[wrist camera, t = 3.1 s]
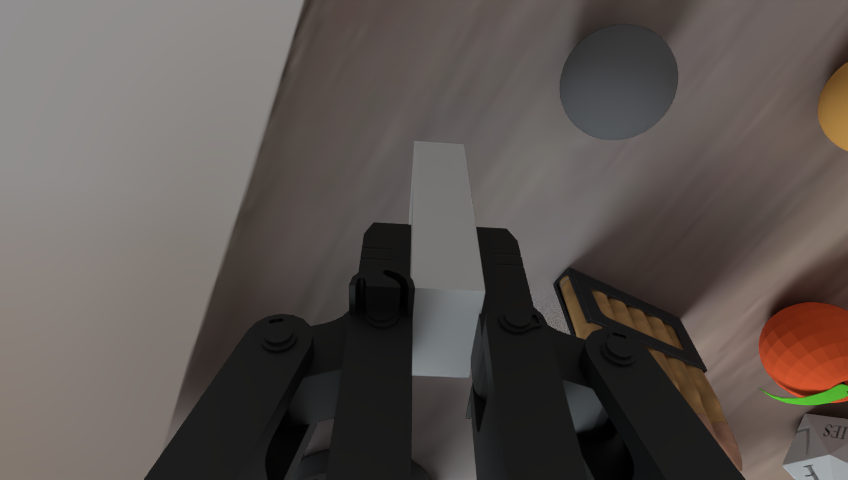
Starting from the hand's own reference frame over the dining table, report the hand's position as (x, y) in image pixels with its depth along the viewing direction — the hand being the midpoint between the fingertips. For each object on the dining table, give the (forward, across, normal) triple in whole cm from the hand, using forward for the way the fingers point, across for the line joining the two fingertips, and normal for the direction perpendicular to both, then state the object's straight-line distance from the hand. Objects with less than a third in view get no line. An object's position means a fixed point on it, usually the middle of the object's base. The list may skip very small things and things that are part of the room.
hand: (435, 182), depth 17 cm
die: (+14, -38, +31) cm, 51 cm away
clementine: (+14, -28, +18) cm, 37 cm away
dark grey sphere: (+11, -9, 0) cm, 15 cm away
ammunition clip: (+14, -15, +17) cm, 27 cm away
